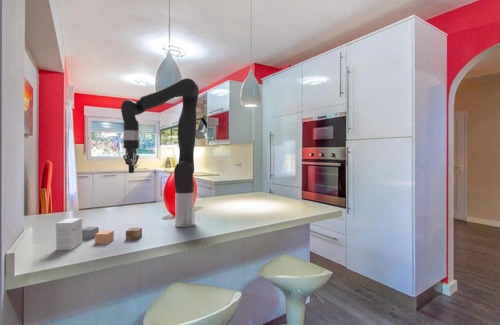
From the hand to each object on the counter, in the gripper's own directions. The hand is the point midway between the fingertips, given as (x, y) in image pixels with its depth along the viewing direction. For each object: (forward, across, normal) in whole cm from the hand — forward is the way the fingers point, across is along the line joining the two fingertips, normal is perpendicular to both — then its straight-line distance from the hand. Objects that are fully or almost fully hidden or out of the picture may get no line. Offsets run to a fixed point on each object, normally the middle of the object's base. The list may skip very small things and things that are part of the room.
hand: (131, 172), depth 136 cm
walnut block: (+27, -22, -12) cm, 37 cm away
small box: (+27, -34, +8) cm, 44 cm away
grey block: (+27, -22, +8) cm, 36 cm away
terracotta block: (+27, -27, -2) cm, 39 cm away
